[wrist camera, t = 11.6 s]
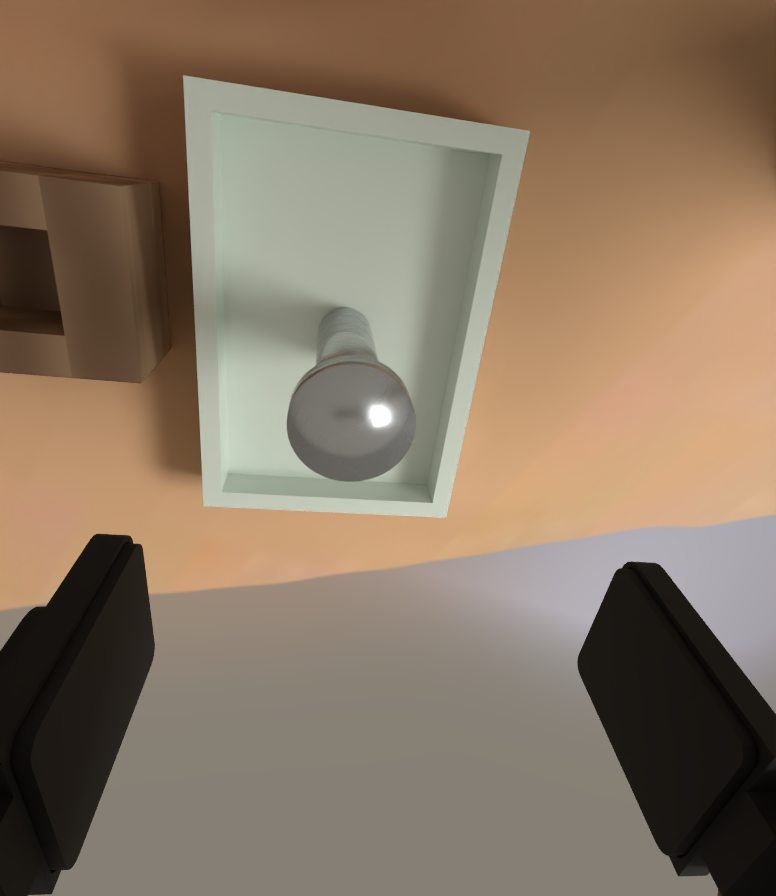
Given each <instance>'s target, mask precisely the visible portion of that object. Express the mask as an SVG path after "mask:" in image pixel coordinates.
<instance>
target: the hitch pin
mask: <svg viewBox="0 0 776 896" xmlns="http://www.w3.org/2000/svg"><path fill="white" fill-rule="evenodd" d="M415 431H416V415H415V410H414V407H413V404H412V401H411V398H410V395H409V392H408V390H407V388H406V386H405V384H404V382H403V381H402V380H401V378H400V377H399V376H398V375H397V374H396V373H395V372H394V371H393V370H392V369H390V368H389V367H388V366H386V365H384V364H383V363H381V362H379V360H378V356H377V352H376V348H375V344H374V339H373V335H372V331H371V327H370V324H369V322H368V320H367V319H366V317H365V316H364V315H363V314H362V313H361V312H359V311H357V310H355V309H352V308H348V307H341V308H336V309H334V310H332V311H330V312H328V313H327V314H326V315H325V316H324V317H323V319H322V320H321V322H320V324H319V328H318V337H317V350H316V363H315V366H314V367H313V368H311V369H310V370H309V371H308V372H307V373H306V374H304V375H303V377H302V378H301V379H300V380H299V382H298V383H297V385H296V387H295V388H294V391H293V393H292V395H291V399H290V403H289V409H288V414H287V434H288V439H289V441H290V444H291V447H292V449H293V450H294V452H295V454H296V455H297V457H298V458H299V459H300V460H301V461H302V462H303V463H304V464H305V465H306V466H307V467H308V468H309V469H311V470H312V471H314V472H315V473H317V474H319V475H321V476H323V477H326V478H329V479H333V480H337V481H344V482H356V481H364V480H368V479H372V478H375V477H378V476H380V475H382V474H384V473H386V472H387V471H389V470H390V469H392V468H393V467H394V466H396V465H397V464H398V463H399V462H400V461H401V460H402V459H403V457H404V456H405V455H406V453H407V452H408V450H409V448H410V447H411V444H412V442H413V439H414V436H415Z"/></svg>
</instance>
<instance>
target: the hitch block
mask: <svg viewBox="0 0 776 896" xmlns="http://www.w3.org/2000/svg"><path fill="white" fill-rule="evenodd" d="M170 349H171V344H170V330H169V315H168V301H167V287H166V273H165V259H164V245H163V231H162V217H161V203H160V189H159V182H156V181H148V180H141V179H133V178H126V177H118V176H110V175H103V174H95V173H88V172H80V171H72V170H65V169H57V168H50V167H42V166H34V165H27V164H19V163H12V162H4V161H0V372H3V373H16V374H29V375H42V376H54V377H67V378H80V379H92V380H105V381H118V382H131V383H142V382H143V380H144V379H145V378H146V377H147V376H148V375H149V373H150V372H151V371H152V370H153V369H154V368H155V367H156V365H157V364H158V363H159V362H160V361H161V360H162V358H163V357H164V356H165V355H166V354H167V353H168V351H169V350H170Z"/></svg>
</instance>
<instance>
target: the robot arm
mask: <svg viewBox="0 0 776 896" xmlns="http://www.w3.org/2000/svg"><path fill="white" fill-rule="evenodd" d="M154 649H155V643H154V635H153V627H152V619H151V611H150V603H149V595H148V587H147V579H146V571H145V563H144V555H143V548H142V546H141V544H133V540H132V538H131V536H128V535H109V534H96V535H94V536H93V537H92V538H91V539H90V541H89V542H88V544H87V545H86V547H85V549H84V550H83V552H82V553H81V555H80V556H79V558H78V559H77V561H76V562H75V564H74V565H73V567H72V568H71V570H70V571H69V573H68V574H67V576H66V577H65V579H64V580H63V582H62V583H61V585H60V586H59V588H58V589H57V591H56V592H55V594H54V595H53V597H52V598H51V600H50V601H49V603H48V604H47V606H46V607H35V608H33V609H32V610H30V611H29V612H28V614H27V615H26V616H25V617H24V618H23V619H22V621H21V622H20V624H19V625H18V627H17V628H16V629H15V631H14V632H13V634H12V635H11V637H10V638H9V639H8V641H7V642H6V644H5V645H4V647H3V648H2V649H1V651H0V896H28V895H39V894H52V892H53V890H54V887H55V884H56V882H57V880H58V877H59V875H60V872H61V870H69V869H71V868H72V867H73V865H74V864H75V862H76V860H77V858H78V855H79V853H80V851H81V848H82V846H83V843H84V840H85V838H86V835H87V832H88V830H89V827H90V824H91V822H92V819H93V817H94V814H95V811H96V809H97V806H98V804H99V801H100V798H101V796H102V793H103V790H104V788H105V785H106V782H107V780H108V777H109V775H110V772H111V769H112V767H113V764H114V761H115V759H116V756H117V754H118V751H119V748H120V746H121V743H122V740H123V738H124V735H125V732H126V730H127V727H128V725H129V722H130V719H131V717H132V714H133V712H134V709H135V706H136V704H137V701H138V698H139V696H140V693H141V691H142V688H143V685H144V683H145V680H146V677H147V675H148V672H149V669H150V667H151V664H152V661H153V656H154ZM578 670H579V673H580V676H581V678H582V681H583V683H584V685H585V687H586V689H587V692H588V694H589V696H590V698H591V700H592V703H593V705H594V707H595V709H596V711H597V714H598V716H599V718H600V720H601V722H602V725H603V727H604V729H605V731H606V733H607V735H608V738H609V740H610V742H611V745H612V747H613V749H614V751H615V753H616V756H617V758H618V760H619V762H620V764H621V767H622V769H623V771H624V773H625V775H626V778H627V780H628V782H629V784H630V786H631V788H632V791H633V793H634V795H635V797H636V800H637V802H638V804H639V806H640V809H641V811H642V813H643V815H644V817H645V820H646V822H647V824H648V826H649V828H650V831H651V833H652V835H653V837H654V839H655V842H656V843H657V845H658V847H659V849H660V850H661V851H662V852H663V853H664V854H665V855H668V856H669V857H670V859H671V861H672V864H673V866H674V868H675V870H676V872H677V875H678V876H706V875H708V874H709V873H710V874H711V876H712V877H713V880H714V881H715V883H716V885H717V887H718V895H717V896H776V714H775V713H774V711H773V710H772V709H771V708H770V706H769V705H768V704H767V702H766V701H765V700H764V699H763V697H762V696H761V695H760V693H759V692H758V691H757V689H756V688H755V687H754V686H753V685H752V683H751V682H750V680H749V679H748V678H747V676H746V675H745V674H744V673H743V671H742V670H741V669H740V667H739V666H738V665H737V663H736V662H735V661H734V660H733V658H732V657H731V656H730V654H729V653H728V652H727V651H726V649H725V648H724V647H723V645H722V644H721V643H720V641H719V640H718V639H717V638H716V636H715V635H714V634H713V632H712V631H711V630H710V628H709V627H708V626H707V625H706V623H705V622H704V621H703V619H702V618H701V617H700V616H699V614H698V613H697V612H696V610H695V609H694V608H693V607H692V605H691V604H690V603H689V601H688V600H687V599H686V597H685V596H684V595H683V594H682V592H681V591H680V590H679V589H678V587H677V586H676V584H675V583H674V582H673V581H672V579H671V578H670V577H669V575H668V574H667V573H666V572H665V570H664V569H663V568H662V567H661V566H660V565H659V564H656V563H646V562H627V563H626V564H625V565H624V566H623V567H622V568H621V569H618V570H617V571H616V572H615V574H614V576H613V578H612V581H611V583H610V585H609V588H608V590H607V592H606V594H605V597H604V599H603V602H602V603H601V606H600V608H599V611H598V613H597V615H596V617H595V619H594V622H593V624H592V627H591V628H590V631H589V633H588V635H587V637H586V640H585V642H584V644H583V647H582V649H581V651H580V653H579V656H578Z"/></svg>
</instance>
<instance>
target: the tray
mask: <svg viewBox="0 0 776 896" xmlns="http://www.w3.org/2000/svg"><path fill="white" fill-rule="evenodd" d="M183 86H184V107H185V128H186V149H187V169H188V190H189V211H190V232H191V253H192V274H193V295H194V316H195V336H196V357H197V378H198V399H199V420H200V441H201V462H202V483H203V503H204V506H210V507H231V508H252V509H273V510H294V511H315V512H336V513H357V514H378V515H399V516H420V517H441V518H446V516H447V511H448V507H449V502H450V498H451V493H452V488H453V484H454V479H455V475H456V470H457V465H458V461H459V456H460V452H461V447H462V443H463V438H464V433H465V429H466V424H467V420H468V415H469V410H470V406H471V401H472V397H473V392H474V388H475V383H476V378H477V374H478V369H479V365H480V360H481V355H482V351H483V346H484V342H485V337H486V333H487V328H488V323H489V319H490V314H491V310H492V305H493V300H494V296H495V291H496V287H497V282H498V278H499V273H500V268H501V264H502V259H503V255H504V250H505V245H506V241H507V236H508V232H509V227H510V223H511V218H512V213H513V209H514V204H515V200H516V195H517V190H518V186H519V181H520V177H521V172H522V167H523V163H524V158H525V154H526V149H527V145H528V140H529V135H530V131H528V130H522V129H515V128H509V127H503V126H497V125H490V124H484V123H478V122H472V121H465V120H459V119H453V118H447V117H440V116H434V115H428V114H422V113H416V112H409V111H403V110H397V109H391V108H384V107H378V106H372V105H366V104H359V103H353V102H347V101H341V100H335V99H328V98H322V97H316V96H310V95H303V94H297V93H291V92H285V91H278V90H272V89H266V88H260V87H253V86H247V85H241V84H235V83H229V82H222V81H216V80H210V79H204V78H197V77H191V76H185V75H183ZM341 307H348V308H352V309H355V310H357V311H359V312H361V313H362V314H363V315H364V316H365V317H366V319H367V320H368V322H369V324H370V327H371V331H372V335H373V339H374V344H375V348H376V352H377V356H378V360H379V362H381V363H383V364H384V365H386V366H388V367H389V368H390V369H392V370H393V371H394V372H395V373H396V374H397V375H398V376H399V377H400V378H401V380H402V381H403V382H404V384H405V386H406V388H407V390H408V392H409V395H410V398H411V401H412V404H413V407H414V410H415V415H416V431H415V436H414V439H413V442H412V444H411V447H410V448H409V450H408V452H407V453H406V455H405V456H404V457H403V459H402V460H401V461H400V462H399V463H398V464H397V465H396V466H394V467H393V468H392V469H390V470H389V471H387V472H386V473H384V474H382V475H380V476H378V477H375V478H372V479H368V480H364V481H356V482H344V481H337V480H333V479H329V478H326V477H323V476H321V475H319V474H317V473H315V472H314V471H312V470H311V469H309V468H308V467H307V466H306V465H305V464H304V463H303V462H302V461H301V460H300V459H299V458H298V457H297V455H296V454H295V452H294V450H293V449H292V447H291V444H290V441H289V439H288V434H287V414H288V409H289V403H290V399H291V395H292V393H293V391H294V388H295V387H296V385H297V383H298V382H299V380H300V379H301V378H302V377H303V375H304V374H306V373H307V372H308V371H309V370H310V369H311V368H313V367H314V366H315V363H316V350H317V337H318V328H319V324H320V322H321V320H322V319H323V317H324V316H325V315H326V314H327V313H328V312H330V311H332V310H334V309H336V308H341Z"/></svg>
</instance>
